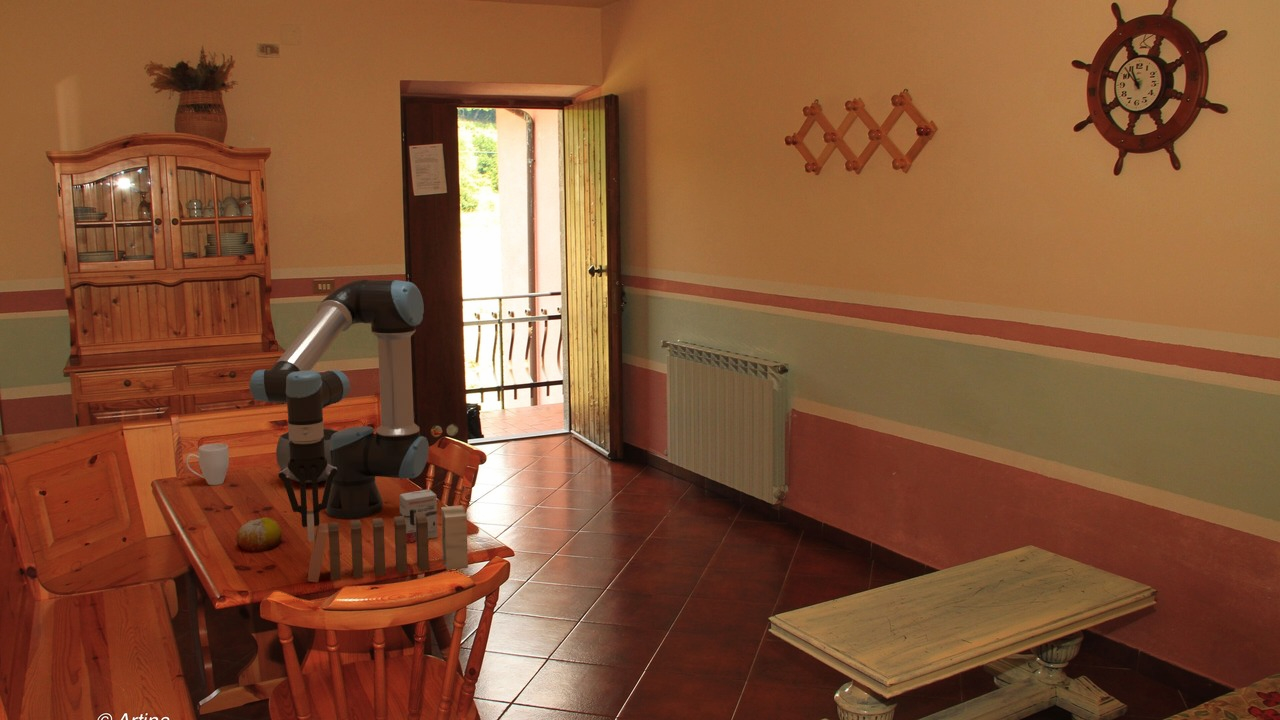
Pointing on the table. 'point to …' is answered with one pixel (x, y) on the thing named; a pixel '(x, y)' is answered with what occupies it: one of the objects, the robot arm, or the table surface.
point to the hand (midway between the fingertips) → (311, 539)
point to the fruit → (259, 535)
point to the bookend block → (454, 537)
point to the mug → (212, 462)
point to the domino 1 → (317, 552)
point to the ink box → (419, 512)
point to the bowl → (284, 453)
